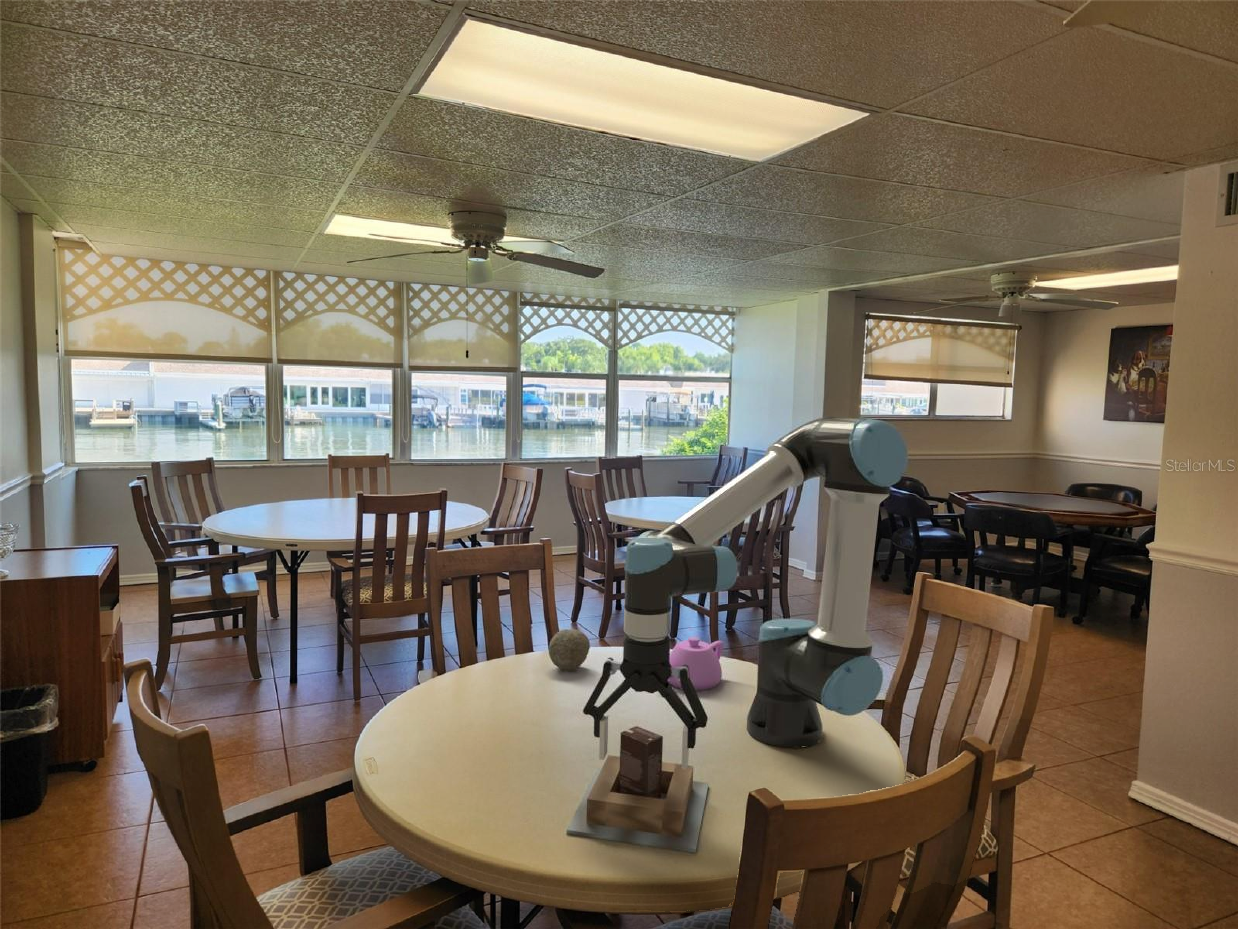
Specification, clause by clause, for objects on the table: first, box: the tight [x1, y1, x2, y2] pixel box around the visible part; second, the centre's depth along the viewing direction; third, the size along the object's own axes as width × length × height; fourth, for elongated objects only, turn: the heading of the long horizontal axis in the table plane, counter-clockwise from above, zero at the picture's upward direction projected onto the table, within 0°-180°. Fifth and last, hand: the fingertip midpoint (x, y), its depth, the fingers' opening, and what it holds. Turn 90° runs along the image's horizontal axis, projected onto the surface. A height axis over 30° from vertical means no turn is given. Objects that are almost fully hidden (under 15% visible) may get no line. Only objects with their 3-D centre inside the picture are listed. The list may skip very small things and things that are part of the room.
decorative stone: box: [548, 628, 591, 672], centre depth 186 cm, size 10×8×10 cm
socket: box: [566, 754, 709, 854], centre depth 124 cm, size 20×20×5 cm
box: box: [619, 725, 664, 799], centre depth 124 cm, size 6×4×12 cm
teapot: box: [668, 636, 724, 692], centre depth 180 cm, size 14×20×11 cm
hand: (643, 761), depth 124 cm, fingers open, 13 cm apart
